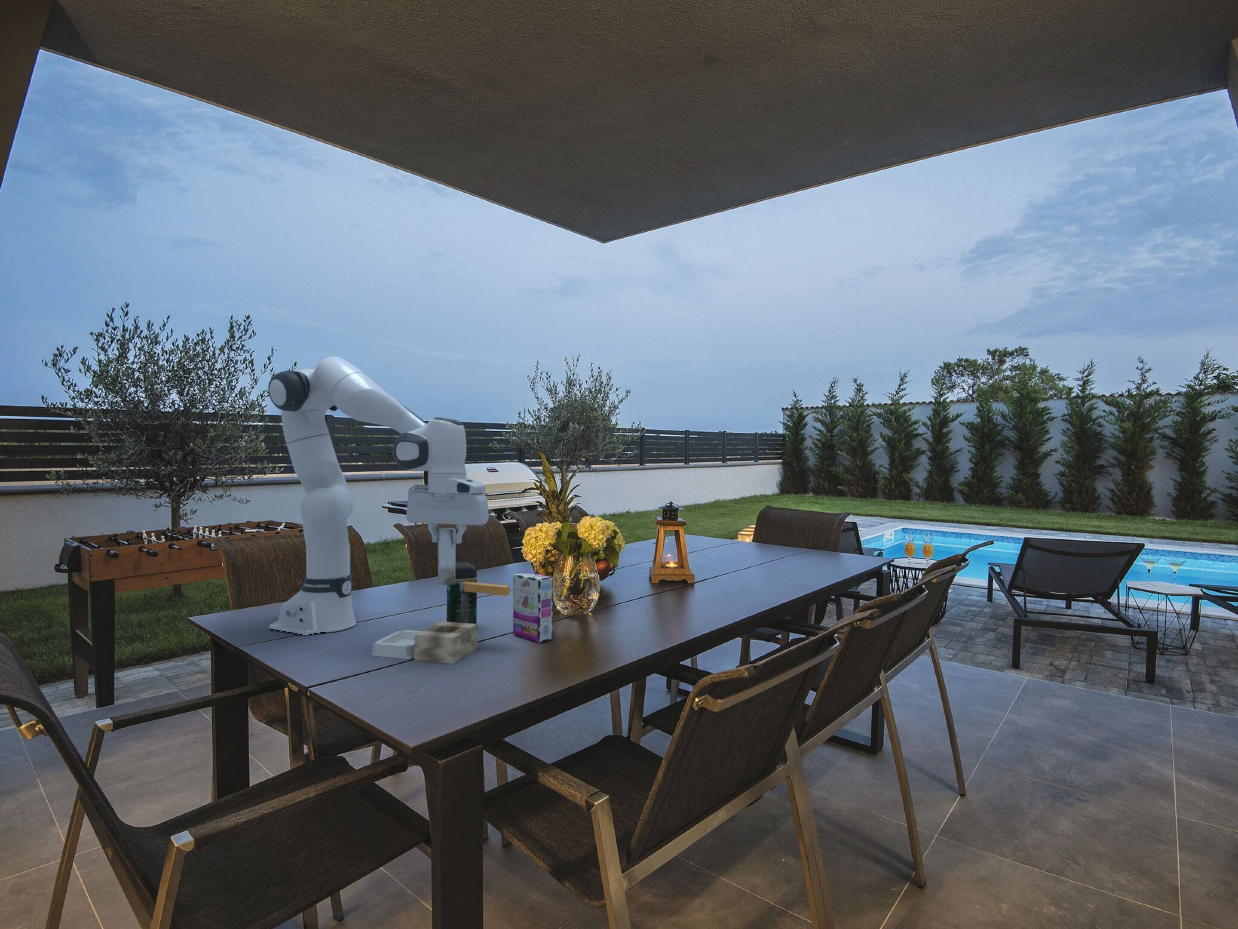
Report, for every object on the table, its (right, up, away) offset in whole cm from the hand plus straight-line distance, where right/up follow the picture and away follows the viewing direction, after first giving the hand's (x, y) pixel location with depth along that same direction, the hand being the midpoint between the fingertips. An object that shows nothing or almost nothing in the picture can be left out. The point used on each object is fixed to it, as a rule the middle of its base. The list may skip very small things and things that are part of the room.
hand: (446, 542), depth 147 cm
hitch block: (0, -27, +3) cm, 27 cm away
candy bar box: (+19, -27, +14) cm, 36 cm away
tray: (-11, -27, +3) cm, 29 cm away
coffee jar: (-2, -27, +20) cm, 34 cm away
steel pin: (0, -10, 0) cm, 10 cm away
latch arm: (+7, -13, +7) cm, 17 cm away
